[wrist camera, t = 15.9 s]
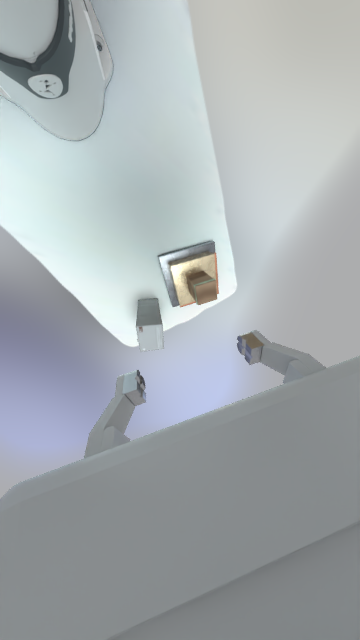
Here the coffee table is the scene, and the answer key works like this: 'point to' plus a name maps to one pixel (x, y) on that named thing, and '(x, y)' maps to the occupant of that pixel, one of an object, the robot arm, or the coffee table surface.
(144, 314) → the skincare box
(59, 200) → the coffee table surface
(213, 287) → the walnut column
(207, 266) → the stand
